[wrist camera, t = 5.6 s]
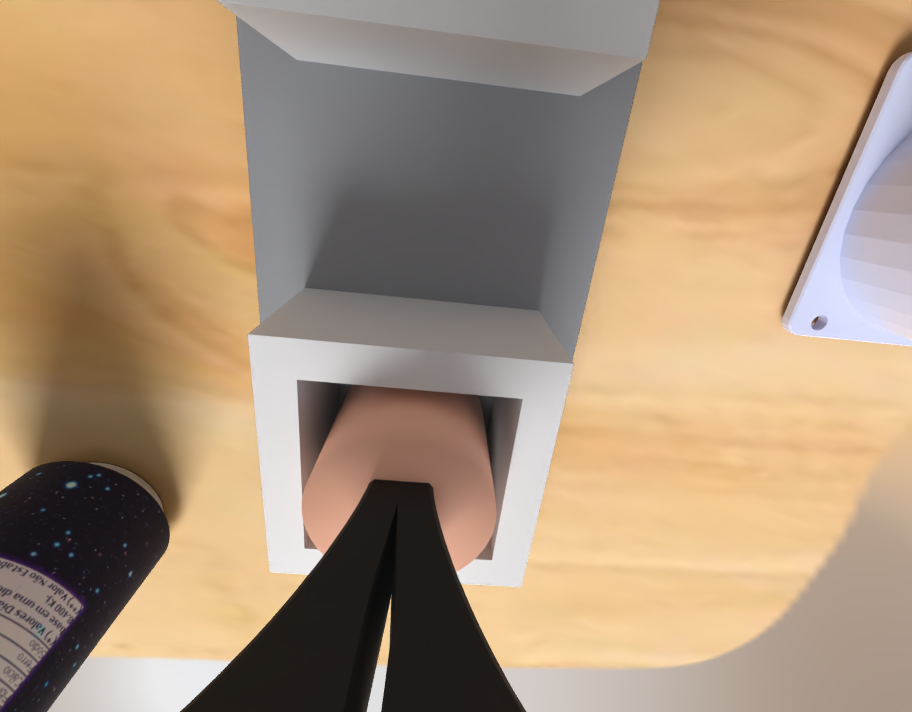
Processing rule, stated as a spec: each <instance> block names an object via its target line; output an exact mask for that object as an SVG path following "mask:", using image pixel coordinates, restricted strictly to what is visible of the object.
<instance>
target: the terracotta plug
mask: <svg viewBox="0 0 912 712" xmlns="http://www.w3.org/2000/svg"><path fill="white" fill-rule="evenodd" d="M374 479H379V480H393V481H407V482H421V483H429V484H430V485H431V486H432V487H433V490H434V499H435V504H436V509H437V514H438V518H439V521H440V525H441V529H442V532H443V535H444V539H445V542H446V545H447V548H448V551H449V553H450V556H451V559H452V562H453V565H454V568H455V570H456V572H457V571H459V570H461V569H462V568H464V567H465V566H467V565H468V564H470V563H471V562H472V561H473V560H474V559H475V558H476V557H477V556H478V555H479V554H480V553H481V552H482V551H483V550H484V548H485V547H486V545H487V544H488V542H489V540H490V538H491V536H492V534H493V531H494V527H495V524H496V515H497V511H496V500H495V493H494V486H493V479H492V473H491V466H490V459H489V452H488V445H487V438H486V431H485V424H484V418H483V411H482V405H481V401H480V398H479V396H478V395H471V394H460V393H448V392H436V391H424V390H413V389H401V388H389V387H378V386H366V385H354V384H352V385H351V387H350V388H349V390H348V393H347V395H346V397H345V399H344V401H343V404H342V406H341V408H340V410H339V413H338V415H337V417H336V419H335V421H334V424H333V426H332V428H331V430H330V432H329V435H328V437H327V439H326V441H325V444H324V446H323V448H322V450H321V452H320V455H319V457H318V459H317V461H316V464H315V466H314V468H313V470H312V472H311V475H310V477H309V479H308V481H307V484H306V486H305V489H304V492H303V497H302V509H301V510H302V517H303V522H304V525H305V528H306V531H307V533H308V535H309V537H310V539H311V540H312V542H313V543H314V545H315V546H316V547H317V549H318V550H319V551H320V552H321V553H322V554H323V555H324V554H325V553H326V551H327V550H328V548H329V547H330V546H331V544H332V543H333V541H334V540H335V538H336V537H337V536H338V534H339V533H340V531H341V530H342V528H343V527H344V526H345V524H346V522H347V521H348V519H349V518H350V516H351V515H352V513H353V511H354V510H355V508H356V507H357V505H358V503H359V502H360V500H361V498H362V496H363V494H364V493H365V491H366V489H367V487H368V484H369V483H370V482H371V481H373V480H374Z"/></svg>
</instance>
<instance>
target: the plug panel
mask: <svg viewBox="0 0 912 712" xmlns="http://www.w3.org/2000/svg"><path fill="white" fill-rule="evenodd" d="M217 2H219V3H220V4H221V5H223V6H224V7H225V8H227V9H228V10H229V11H231V12H232V13H234V14H235V15H236V20H237V33H238V45H239V58H240V71H241V83H242V96H243V109H244V121H245V134H246V147H247V160H248V172H249V185H250V198H251V210H252V223H253V236H254V249H255V261H256V274H257V287H258V299H259V312H260V325H259V326H257V327H256V328H255V329H254V330H253V331H251V332H250V333H249V334H248V341H249V352H250V363H251V374H252V385H253V396H254V407H255V418H256V428H257V439H258V450H259V461H260V472H261V483H262V494H263V505H264V516H265V526H266V537H267V548H268V559H269V570H270V572H271V573H288V574H305V575H309V573H310V572H311V571H312V570H313V568H314V567H315V566H316V564H317V563H318V562H319V561H320V559H321V558H322V557H323V554H322V553H321V552H320V551H319V550H318V549H317V547H316V546H315V545H314V543H313V542H312V540H311V539H310V537H309V535H308V533H307V531H306V528H305V525H304V522H303V517H302V510H301V509H302V497H303V492H304V489H305V486H306V484H307V481H308V479H309V477H310V475H311V472H312V470H313V468H314V466H315V464H316V461H317V459H318V457H319V455H320V452H321V450H322V448H323V446H324V444H325V441H326V439H327V437H328V435H329V432H330V430H331V428H332V426H333V424H334V421H335V419H336V417H337V415H338V413H339V410H340V408H341V406H342V404H343V401H344V399H345V397H346V395H347V393H348V390H349V388H350V387H351V385H352V384H354V385H366V386H378V387H389V388H401V389H413V390H424V391H436V392H448V393H460V394H471V395H478V396H479V398H480V401H481V405H482V411H483V418H484V424H485V431H486V438H487V445H488V452H489V459H490V466H491V473H492V479H493V486H494V493H495V500H496V511H497V515H496V524H495V527H494V531H493V534H492V536H491V538H490V540H489V542H488V544H487V545H486V547H485V548H484V550H483V551H482V552H481V553H480V554H479V555H478V556H477V557H476V558H475V559H474V560H473V561H472V562H471V563H470V564H468V565H467V566H465V567H464V568H462V569H461V570H459V571H457V572H456V573H457V575H458V578H459V581H460V583H461V584H474V585H491V586H508V587H521V586H522V581H523V577H524V573H525V569H526V565H527V560H528V556H529V552H530V548H531V543H532V539H533V535H534V531H535V526H536V522H537V518H538V514H539V510H540V505H541V501H542V497H543V493H544V488H545V484H546V480H547V476H548V471H549V467H550V463H551V459H552V455H553V450H554V446H555V442H556V438H557V433H558V429H559V425H560V421H561V416H562V412H563V408H564V404H565V400H566V395H567V391H568V387H569V383H570V378H571V374H572V370H573V366H574V363H573V362H572V360H573V356H574V352H575V347H576V343H577V339H578V334H579V330H580V326H581V322H582V317H583V313H584V309H585V305H586V300H587V296H588V292H589V287H590V283H591V279H592V275H593V270H594V266H595V262H596V258H597V253H598V249H599V245H600V240H601V236H602V232H603V228H604V223H605V219H606V215H607V211H608V206H609V202H610V198H611V193H612V189H613V185H614V181H615V176H616V172H617V168H618V164H619V159H620V155H621V151H622V146H623V142H624V138H625V134H626V129H627V125H628V121H629V117H630V112H631V108H632V104H633V99H634V95H635V91H636V87H637V82H638V78H639V74H640V70H641V65H642V61H644V60H646V57H647V53H648V48H649V44H650V40H651V36H652V31H653V27H654V23H655V19H656V15H657V10H658V6H659V2H660V0H217Z"/></svg>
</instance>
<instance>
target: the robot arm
mask: <svg viewBox="0 0 912 712" xmlns="http://www.w3.org/2000/svg"><path fill="white" fill-rule="evenodd" d="M816 317H818V320H817V321H816V323H815V324H813V325H812V326H811V324H812V321H813V320H814V319H815V318H816ZM782 325H783V328H784V329H785V330H786V331H788V332H791V333H793V334H796V335H802V336H812V337H822V338H832V339H843V340H853V341H863V342H873V343H884V344H894V345H904V346H912V52H908V53H906V54H904V55H902V56H900V57H899V58H898V59H897V60H896V61H895V62H894V63H893V64H892V66H891V67H890V69H889V71H888V73H887V75H886V78H885V80H884V82H883V85H882V87H881V89H880V92H879V94H878V96H877V99H876V101H875V103H874V106H873V108H872V110H871V113H870V115H869V117H868V120H867V122H866V124H865V127H864V129H863V131H862V134H861V136H860V138H859V141H858V143H857V145H856V148H855V150H854V152H853V155H852V157H851V159H850V162H849V164H848V166H847V169H846V171H845V173H844V176H843V178H842V180H841V183H840V185H839V187H838V190H837V192H836V194H835V197H834V199H833V201H832V204H831V206H830V208H829V211H828V213H827V215H826V218H825V220H824V222H823V225H822V227H821V229H820V232H819V234H818V236H817V239H816V241H815V243H814V246H813V248H812V250H811V253H810V255H809V257H808V260H807V262H806V264H805V267H804V269H803V271H802V274H801V276H800V278H799V281H798V283H797V285H796V288H795V290H794V292H793V295H792V297H791V299H790V302H789V304H788V306H787V309H786V311H785V313H784V316H783V319H782ZM391 595H392V597H391ZM390 599H391V624H390V650H389V658H388V665H387V673H386V681H385V688H384V696H383V703H382V711H381V712H526V711H525V709H524V708H523V706H522V704H521V702H520V701H519V699H518V697H517V696H516V694H515V692H514V691H513V689H512V687H511V686H510V684H509V682H508V680H507V678H506V677H505V675H504V673H503V671H502V669H501V667H500V665H499V663H498V662H497V660H496V658H495V656H494V654H493V652H492V650H491V648H490V646H489V644H488V642H487V640H486V638H485V636H484V634H483V632H482V630H481V628H480V626H479V624H478V622H477V620H476V618H475V615H474V613H473V611H472V609H471V607H470V604H469V602H468V600H467V597H466V595H465V593H464V590H463V588H462V585H461V583H460V581H459V578H458V575H457V573H456V570H455V568H454V565H453V562H452V559H451V556H450V553H449V551H448V548H447V545H446V542H445V539H444V535H443V532H442V529H441V525H440V521H439V518H438V514H437V509H436V504H435V499H434V490H433V487H432V486H431V485H430V484H429V483H421V482H407V481H393V480H379V479H374V480H373V481H371V482H370V483H369V484H368V487H367V489H366V491H365V493H364V494H363V496H362V498H361V500H360V502H359V503H358V505H357V507H356V508H355V510H354V511H353V513H352V515H351V516H350V518H349V519H348V521H347V522H346V524H345V526H344V527H343V528H342V530H341V531H340V533H339V534H338V536H337V537H336V538H335V540H334V541H333V543H332V544H331V546H330V547H329V548H328V550H327V551H326V553H325V554H324V555H323V557H322V558H321V559H320V561H319V562H318V563H317V564H316V566H315V567H314V568H313V570H312V571H311V572H310V573H309V575H308V576H307V577H306V578H305V580H304V581H303V582H302V584H301V585H300V586H299V587H298V589H297V590H296V591H295V592H294V593H293V595H292V596H291V597H290V598H289V599H288V601H287V602H286V603H285V604H284V605H283V606H282V608H281V609H280V610H279V611H278V612H277V613H276V615H275V616H274V617H273V618H272V619H271V620H270V621H269V622H268V623H267V625H266V626H265V627H264V628H263V629H262V630H261V631H260V632H259V633H258V634H257V636H256V637H255V638H254V639H253V640H252V641H251V642H250V643H249V644H248V645H247V646H246V647H245V648H244V649H243V650H242V651H241V652H240V653H239V654H238V655H237V656H236V657H235V658H234V659H233V660H232V661H231V663H230V664H229V665H228V666H227V667H226V668H225V669H224V670H223V671H222V672H221V673H220V674H219V675H218V676H217V677H216V678H215V679H214V680H213V681H212V682H211V683H210V684H209V685H208V686H207V687H206V688H205V689H204V690H203V691H202V692H201V693H200V694H199V695H197V696H196V697H195V698H194V699H193V700H192V701H191V702H190V703H189V704H188V705H187V706H186V707H185V708H184V709H182V710H181V711H180V712H367V706H368V702H369V697H370V693H371V688H372V683H373V679H374V674H375V669H376V665H377V660H378V655H379V651H380V646H381V642H382V637H383V632H384V628H385V623H386V618H387V613H388V609H389V604H390Z"/></svg>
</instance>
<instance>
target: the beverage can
mask: <svg viewBox="0 0 912 712" xmlns="http://www.w3.org/2000/svg"><path fill="white" fill-rule="evenodd" d="M169 538H170V532H169V525H168V522H167V519H166V516H165V514H164V511H163V506H162V503H161V500H160V498H159V497H158V495H157V494H156V492H155V491H154V489H153V488H152V487H151V486H150V485H149V484H148V483H146V482H145V481H144V480H143V479H142V478H140V477H139V476H137V475H135V474H134V473H132V472H130V471H128V470H126V469H123V468H121V467H118V466H114V465H111V464H106V463H94V462H90V463H86V462H74V461H60V462H52V463H47V464H43V465H40V466H38V467H35V468H33V469H31V470H30V471H28V472H27V473H25V474H24V475H23V476H21V477H20V478H18V479H17V480H16V481H14V482H13V483H11V484H10V485H9V486H7V487H6V488H4V489H3V490H2V491H0V712H47V711H48V710H49V708H50V707H51V706H52V704H53V703H54V701H55V700H56V699H57V697H58V696H59V695H60V693H61V692H62V691H63V689H64V688H65V687H66V685H67V684H68V683H69V681H70V680H71V678H72V677H73V676H74V674H75V673H76V672H77V670H78V669H79V668H80V666H81V665H82V664H83V662H84V661H85V660H86V658H87V657H88V656H89V654H90V653H91V651H92V650H93V649H94V647H95V646H96V645H97V643H98V642H99V641H100V639H101V638H102V637H103V635H104V634H105V633H106V631H107V630H108V629H109V627H110V626H111V624H112V623H113V622H114V620H115V619H116V618H117V616H118V615H119V614H120V612H121V611H122V610H123V608H124V607H125V606H126V604H127V603H128V602H129V600H130V599H131V597H132V596H133V595H134V593H135V592H136V591H137V589H138V588H139V587H140V585H141V584H142V583H143V581H144V580H145V579H146V577H147V576H148V575H149V573H150V572H151V570H152V569H153V568H154V566H155V565H156V564H157V562H158V561H159V560H160V558H161V557H162V556H163V554H164V553H165V551H166V549H167V547H168V543H169Z"/></svg>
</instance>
